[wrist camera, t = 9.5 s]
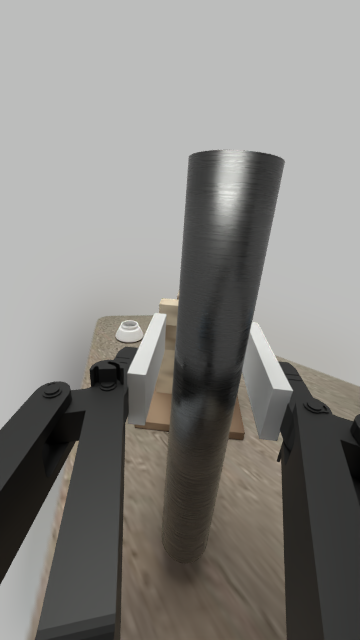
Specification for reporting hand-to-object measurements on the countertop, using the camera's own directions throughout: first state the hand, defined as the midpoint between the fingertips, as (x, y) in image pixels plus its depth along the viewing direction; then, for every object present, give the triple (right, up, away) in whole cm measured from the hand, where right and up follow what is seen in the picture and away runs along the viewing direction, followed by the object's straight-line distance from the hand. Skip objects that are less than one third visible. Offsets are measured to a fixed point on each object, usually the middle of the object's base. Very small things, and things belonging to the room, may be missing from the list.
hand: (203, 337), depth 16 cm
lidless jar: (-11, -2, +31) cm, 33 cm away
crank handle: (-1, -10, +7) cm, 12 cm away
